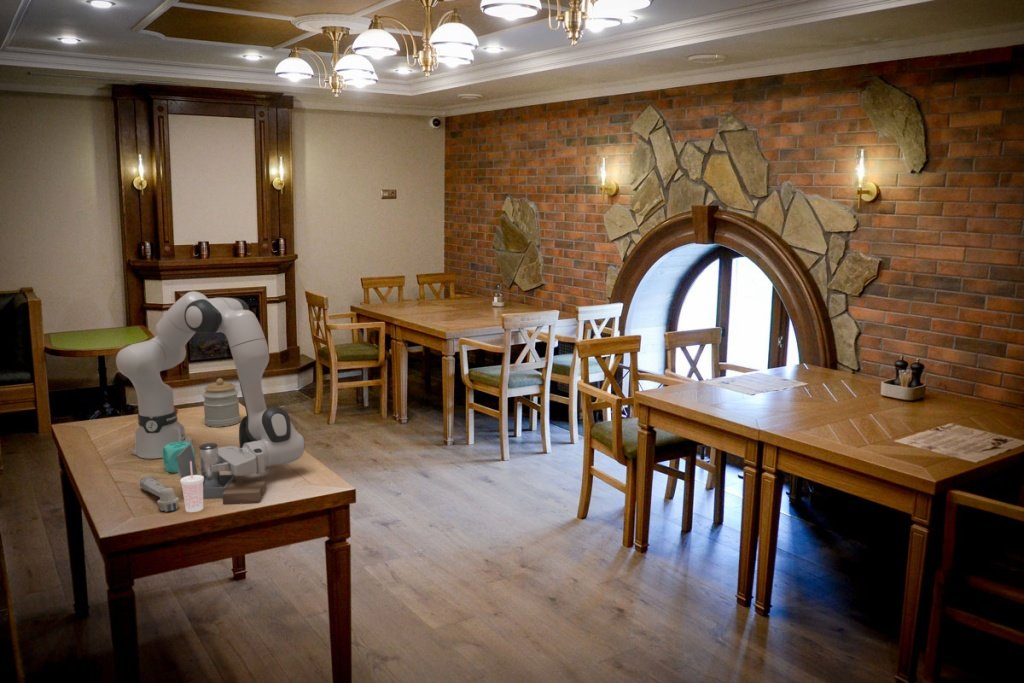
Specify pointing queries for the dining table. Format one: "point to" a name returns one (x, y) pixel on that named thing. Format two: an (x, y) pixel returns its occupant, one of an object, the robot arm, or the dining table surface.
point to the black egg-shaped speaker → (243, 433)
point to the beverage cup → (193, 491)
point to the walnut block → (244, 492)
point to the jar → (221, 404)
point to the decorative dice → (174, 455)
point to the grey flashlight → (160, 493)
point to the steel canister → (209, 458)
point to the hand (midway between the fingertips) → (206, 465)
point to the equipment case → (184, 471)
